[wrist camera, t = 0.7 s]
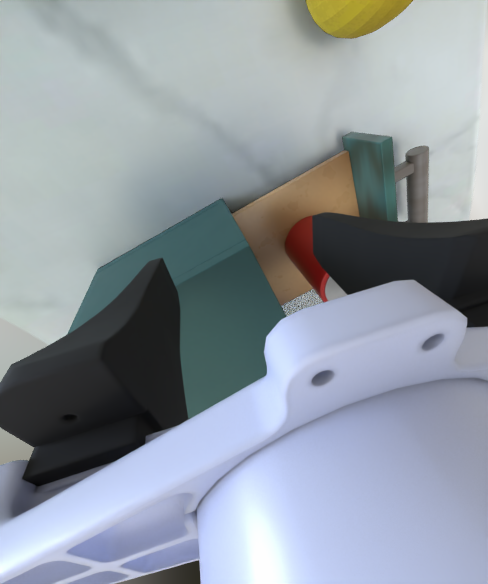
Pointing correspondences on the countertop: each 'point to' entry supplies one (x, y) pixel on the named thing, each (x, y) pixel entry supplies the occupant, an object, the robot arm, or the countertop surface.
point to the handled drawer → (333, 202)
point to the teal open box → (204, 302)
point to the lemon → (354, 15)
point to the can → (310, 261)
